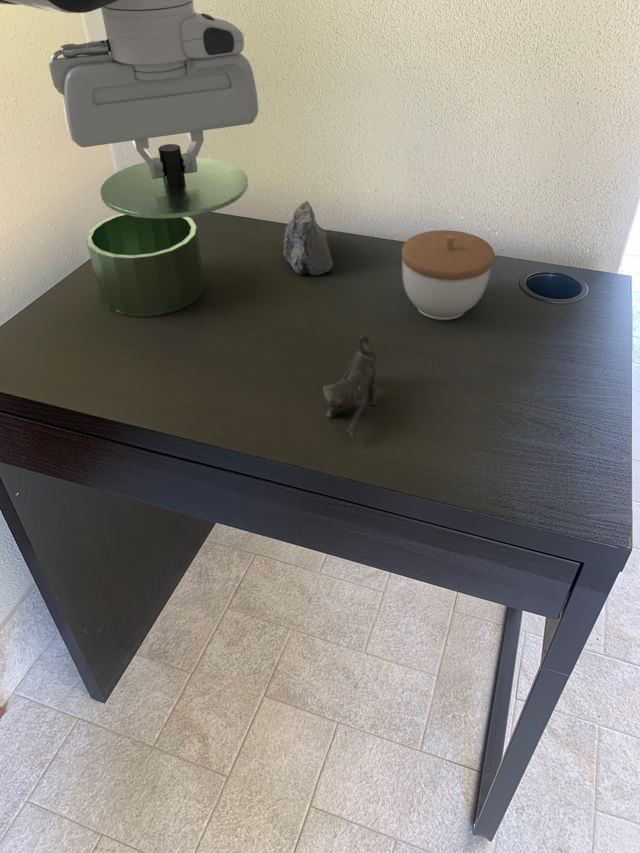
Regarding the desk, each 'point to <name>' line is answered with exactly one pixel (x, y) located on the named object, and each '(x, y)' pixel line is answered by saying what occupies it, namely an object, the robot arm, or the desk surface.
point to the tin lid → (174, 187)
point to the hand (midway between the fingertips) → (173, 173)
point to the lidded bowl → (445, 272)
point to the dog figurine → (354, 386)
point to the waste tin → (146, 264)
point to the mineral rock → (306, 243)
